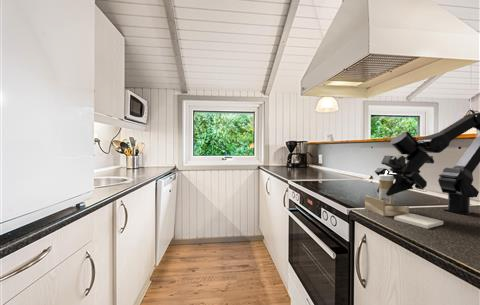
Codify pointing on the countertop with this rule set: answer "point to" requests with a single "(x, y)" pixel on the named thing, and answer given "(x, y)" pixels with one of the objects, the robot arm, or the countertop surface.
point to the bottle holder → (384, 207)
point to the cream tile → (419, 220)
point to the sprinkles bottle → (385, 188)
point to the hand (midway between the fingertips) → (382, 193)
